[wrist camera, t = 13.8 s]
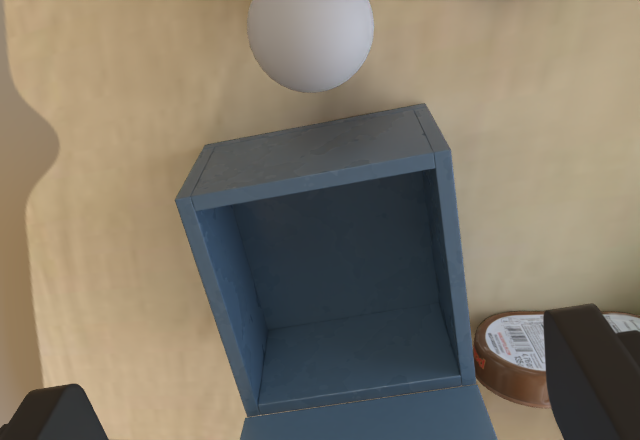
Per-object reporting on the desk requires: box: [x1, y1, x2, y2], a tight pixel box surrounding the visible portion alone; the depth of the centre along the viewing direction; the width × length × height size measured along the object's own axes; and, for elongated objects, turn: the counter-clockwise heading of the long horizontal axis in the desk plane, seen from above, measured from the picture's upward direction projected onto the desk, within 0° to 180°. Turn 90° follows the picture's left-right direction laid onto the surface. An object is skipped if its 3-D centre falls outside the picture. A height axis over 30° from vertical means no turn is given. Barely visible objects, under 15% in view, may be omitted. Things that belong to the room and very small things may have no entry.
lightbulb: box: [247, 0, 374, 93], centre depth 31 cm, size 6×6×11 cm
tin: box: [473, 311, 640, 408], centre depth 43 cm, size 15×3×8 cm, turn 91°
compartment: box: [175, 103, 476, 417], centre depth 39 cm, size 16×15×9 cm
